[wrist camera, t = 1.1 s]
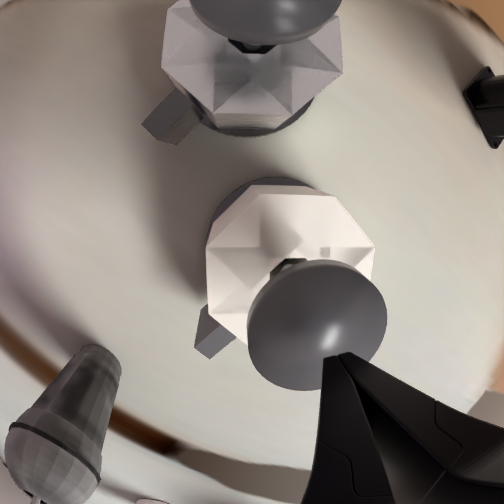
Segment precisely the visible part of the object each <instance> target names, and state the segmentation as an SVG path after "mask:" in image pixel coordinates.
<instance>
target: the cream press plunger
mask: <svg viewBox="0 0 504 504" xmlns="http://www.w3.org/2000/svg"><path fill="white" fill-rule="evenodd" d="M386 326H387V309H386V305H385V302H384V299H383V297H382V295H381V293H380V292H379V290H378V289H377V288H376V287H375V286H374V285H373V284H372V283H371V282H370V281H369V280H368V279H367V278H366V277H365V276H364V275H363V274H362V273H361V272H359V271H358V270H357V269H355V268H354V267H352V266H350V265H348V264H346V263H343V262H340V261H335V260H328V259H318V260H310V261H305V262H301V263H298V264H295V265H292V264H288V265H285V266H284V267H283V268H282V269H281V271H280V273H278V274H276V275H275V276H274V277H273V278H272V279H270V280H269V281H268V282H267V283H266V284H265V285H264V286H263V287H262V288H261V290H260V291H259V292H258V294H257V295H256V297H255V299H254V300H253V302H252V304H251V307H250V309H249V313H248V317H247V325H246V328H247V340H248V350H249V354H250V358H251V360H252V363H253V365H254V366H255V368H256V369H257V371H258V372H259V373H260V374H261V375H262V376H263V377H264V378H265V379H267V380H268V381H270V382H271V383H273V384H275V385H277V386H280V387H283V388H286V389H290V390H298V391H310V390H318V389H321V383H322V368H323V358H325V357H328V356H333V355H336V356H337V355H338V354H341V353H345V352H352V353H354V354H355V355H357V356H359V357H361V358H362V359H364V360H366V361H367V362H369V361H370V360H371V358H372V357H373V356H374V354H375V353H376V351H377V350H378V348H379V346H380V344H381V342H382V340H383V337H384V334H385V331H386Z"/></svg>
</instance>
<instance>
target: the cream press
mask: <svg viewBox="0 0 504 504" xmlns="http://www.w3.org/2000/svg"><path fill="white" fill-rule="evenodd" d="M374 251H375V247H374V245H373V244H372V243H371V241H370V240H369V239H368V237H367V236H366V235H365V233H364V232H363V231H362V230H361V228H360V227H359V226H358V224H357V223H356V222H355V221H354V219H353V218H352V217H351V216H350V214H349V213H348V212H347V211H346V209H345V208H344V207H343V206H342V205H341V203H340V202H339V201H338V200H337V199H336V197H335V196H332V195H329V194H327V193H324V192H321V191H318V190H315V189H314V188H312V187H310V186H309V185H307V184H305V183H302V182H300V181H297V180H293V179H289V178H282V177H268V178H262V179H257V180H254V181H251V182H249V183H247V184H245V185H242V186H241V187H239V188H238V189H236V190H235V191H233V192H232V193H231V194H230V195H229V196H228V197H227V198H226V199H225V200H224V201H223V202H222V203H221V204H220V206H219V207H218V209H217V210H216V212H215V214H214V216H213V218H212V221H211V224H210V227H209V230H208V235H207V243H206V273H207V295H208V304H207V305H205V306H204V307H203V308H202V309H201V312H200V317H199V323H198V328H197V333H196V339H195V345H194V348H195V349H196V350H198V351H199V352H200V353H202V354H203V355H205V356H206V357H207V358H209V359H211V358H212V357H213V356H214V355H215V354H217V353H218V352H219V351H220V350H222V349H223V348H224V347H225V346H227V345H228V344H229V343H230V342H231V341H233V340H234V339H235V338H236V337H237V338H239V339H240V340H241V341H243V342H244V343H245V344H246V345H248V340H247V328H246V325H247V317H248V313H249V309H250V307H251V304H252V302H253V300H254V299H255V297H256V295H257V294H258V292H259V291H260V290H261V288H262V287H263V286H264V285H265V284H266V283H267V282H268V281H269V280H270V279H272V278H273V277H274V276H275V275H276V274H278V273H280V271H281V269H282V268H283V267H284V266H285V265H288V264H292V265H295V264H298V263H301V262H305V261H310V260H318V259H328V260H335V261H340V262H343V263H346V264H348V265H350V266H352V267H354V268H355V269H357V270H358V271H359V272H361V273H362V274H363V275H364V276H365V277H366V278H367V279H368V280H369V281H370V278H371V271H372V265H373V258H374Z"/></svg>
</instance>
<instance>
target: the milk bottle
mask: <svg viewBox="0 0 504 504" xmlns="http://www.w3.org/2000/svg"><path fill="white" fill-rule="evenodd" d="M136 504H167V503H164V502H161V501H156V500H150V499H139V500H137V502H136Z"/></svg>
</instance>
